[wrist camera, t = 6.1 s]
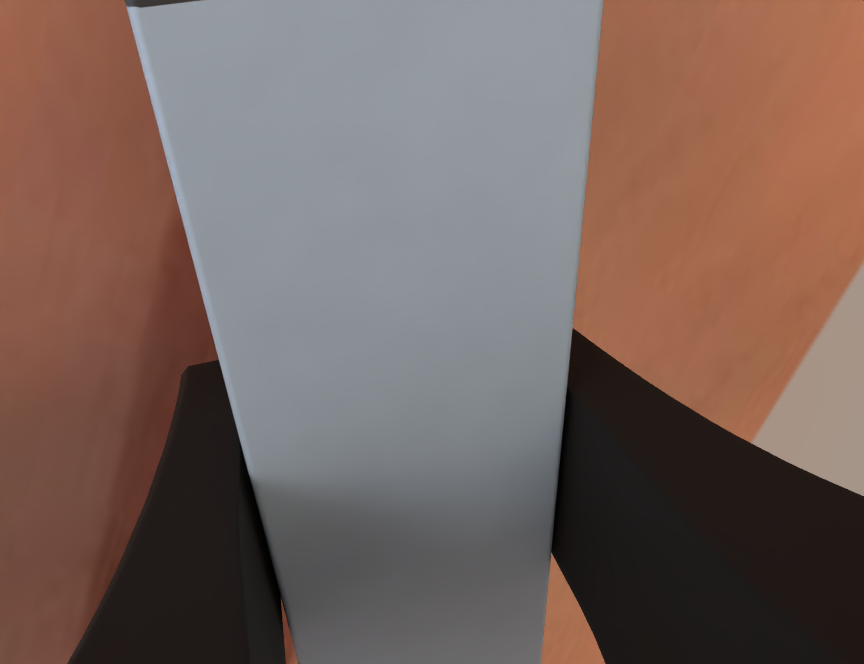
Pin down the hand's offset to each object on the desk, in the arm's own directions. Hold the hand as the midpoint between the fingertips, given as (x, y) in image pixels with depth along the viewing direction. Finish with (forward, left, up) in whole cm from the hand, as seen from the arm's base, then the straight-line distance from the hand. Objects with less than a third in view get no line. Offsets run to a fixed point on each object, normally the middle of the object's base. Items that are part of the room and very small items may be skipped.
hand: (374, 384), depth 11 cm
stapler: (0, 0, -1) cm, 1 cm away
